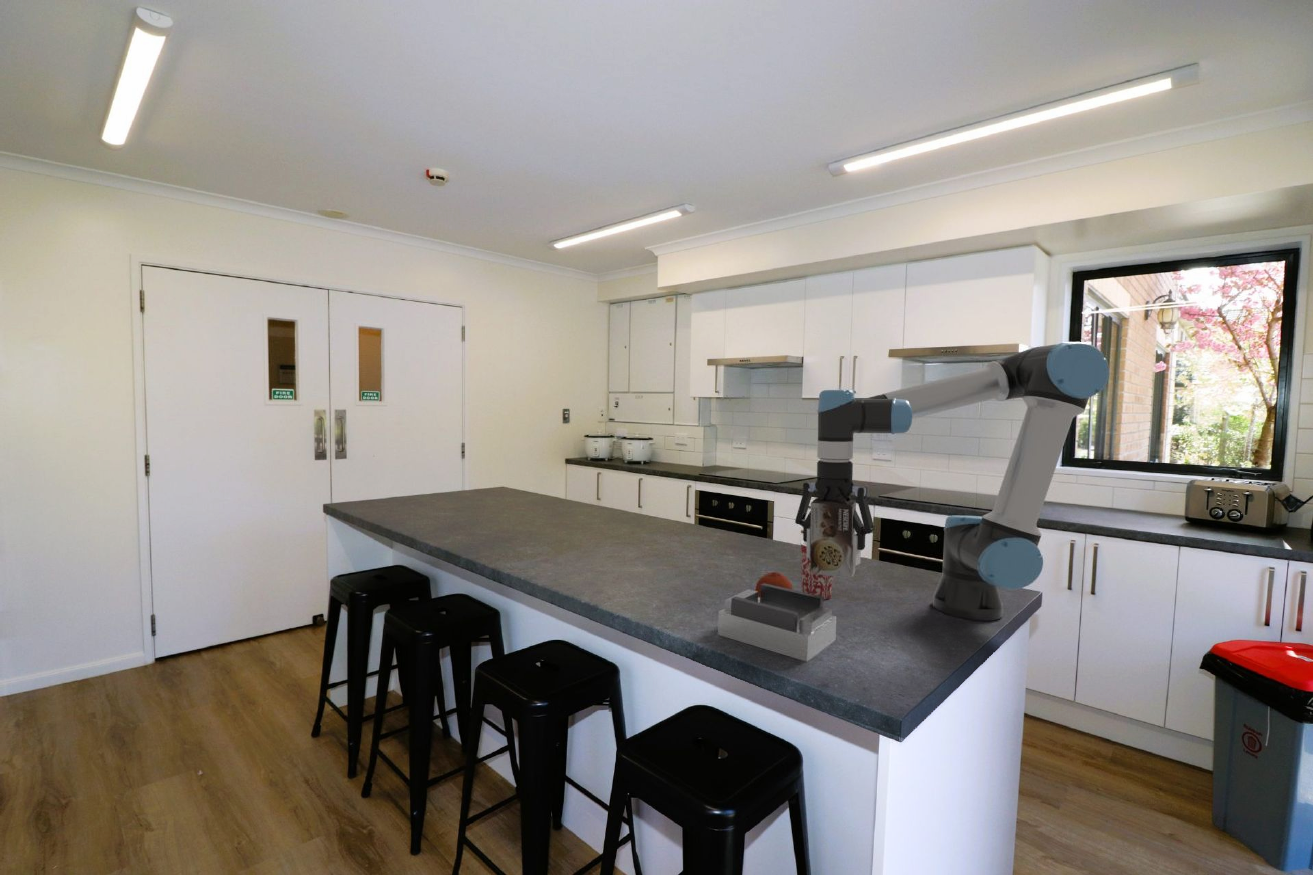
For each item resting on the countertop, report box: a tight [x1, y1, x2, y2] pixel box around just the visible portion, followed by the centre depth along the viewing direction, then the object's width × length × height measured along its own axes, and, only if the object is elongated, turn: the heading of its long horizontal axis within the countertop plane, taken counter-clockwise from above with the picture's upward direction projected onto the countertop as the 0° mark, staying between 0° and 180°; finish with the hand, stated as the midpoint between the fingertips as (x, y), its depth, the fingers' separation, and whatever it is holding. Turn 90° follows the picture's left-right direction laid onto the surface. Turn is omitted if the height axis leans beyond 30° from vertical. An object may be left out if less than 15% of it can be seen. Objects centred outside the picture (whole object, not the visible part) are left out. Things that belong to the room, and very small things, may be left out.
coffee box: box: [810, 497, 857, 579], centre depth 136 cm, size 9×6×16 cm
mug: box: [800, 540, 834, 601], centre depth 157 cm, size 13×9×14 cm
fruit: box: [754, 571, 794, 598], centre depth 148 cm, size 9×9×8 cm
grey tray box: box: [717, 583, 837, 663], centre depth 128 cm, size 20×14×8 cm
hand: (832, 560), depth 136 cm, fingers closed on coffee box, 10 cm apart
